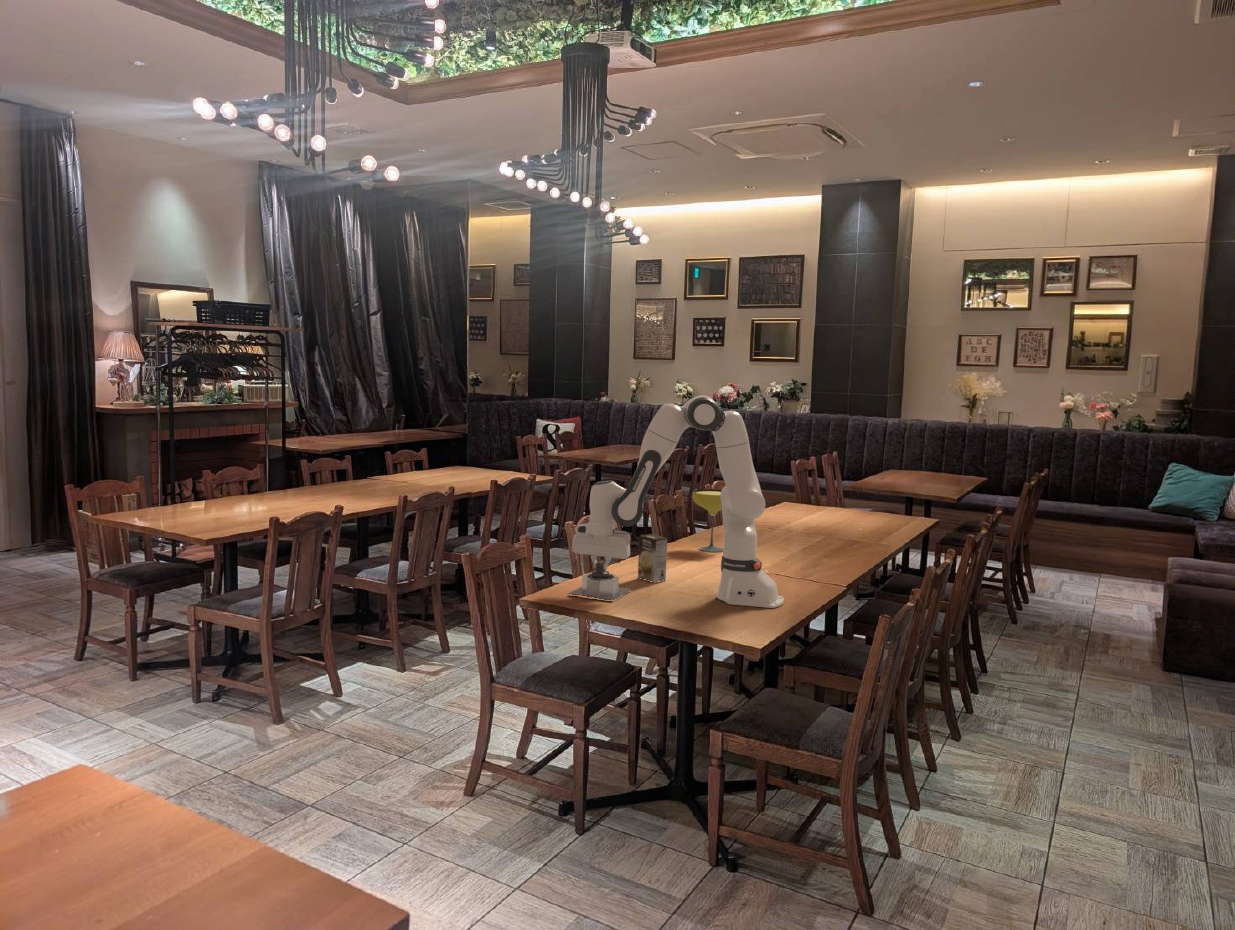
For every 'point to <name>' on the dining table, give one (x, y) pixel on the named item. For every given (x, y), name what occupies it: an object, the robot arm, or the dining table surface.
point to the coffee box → (652, 557)
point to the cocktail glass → (709, 509)
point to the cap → (600, 571)
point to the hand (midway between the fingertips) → (600, 568)
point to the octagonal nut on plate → (600, 587)
